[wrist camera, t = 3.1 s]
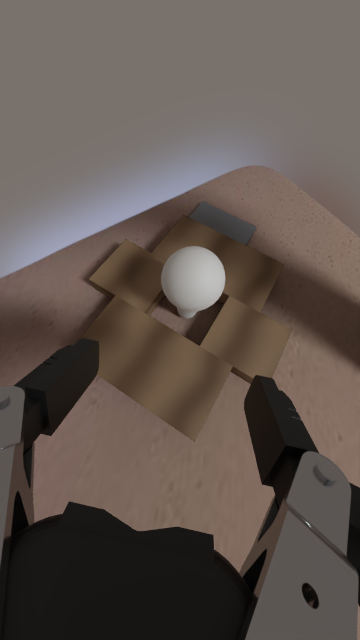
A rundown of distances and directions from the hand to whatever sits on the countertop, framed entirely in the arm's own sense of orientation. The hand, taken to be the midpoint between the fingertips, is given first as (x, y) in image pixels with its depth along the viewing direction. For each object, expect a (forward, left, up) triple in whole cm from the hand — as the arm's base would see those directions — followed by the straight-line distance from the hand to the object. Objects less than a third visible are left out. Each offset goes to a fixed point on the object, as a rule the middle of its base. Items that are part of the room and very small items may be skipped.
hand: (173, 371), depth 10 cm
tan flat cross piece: (+3, -9, -14) cm, 17 cm away
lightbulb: (+3, -9, -14) cm, 17 cm away
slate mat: (+6, -23, -14) cm, 28 cm away
